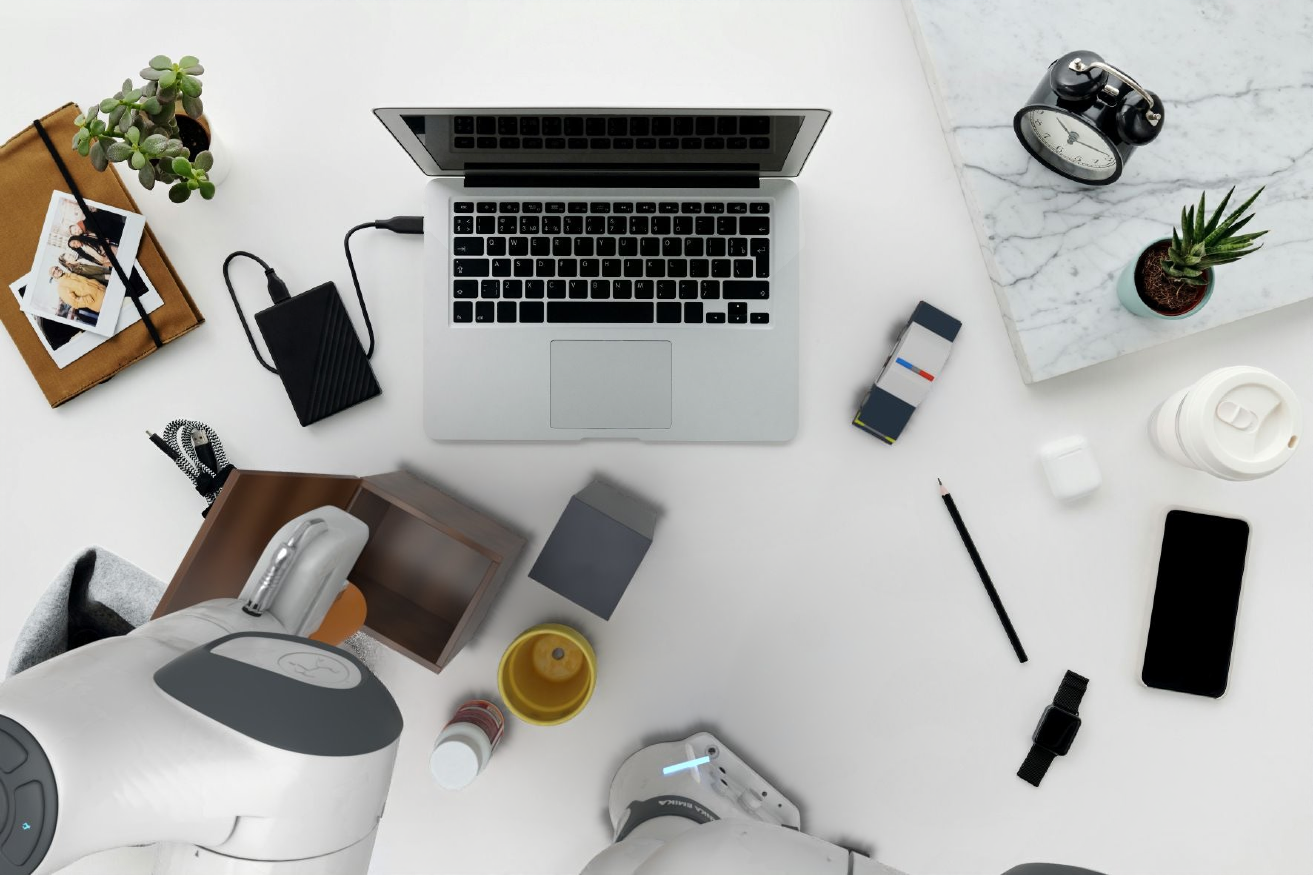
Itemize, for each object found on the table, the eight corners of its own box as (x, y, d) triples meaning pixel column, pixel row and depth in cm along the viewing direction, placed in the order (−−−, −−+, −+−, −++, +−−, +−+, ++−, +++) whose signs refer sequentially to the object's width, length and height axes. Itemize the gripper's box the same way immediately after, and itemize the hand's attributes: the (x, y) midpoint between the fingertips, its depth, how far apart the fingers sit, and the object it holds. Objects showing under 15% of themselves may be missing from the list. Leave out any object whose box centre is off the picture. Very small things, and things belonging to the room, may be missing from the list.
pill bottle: (453, 697, 92) (423, 735, 81) (505, 698, 92) (483, 736, 80) (453, 749, 92) (423, 794, 81) (505, 750, 92) (482, 795, 81)
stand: (656, 512, 91) (652, 541, 67) (623, 571, 91) (607, 621, 67) (597, 478, 91) (572, 495, 67) (563, 538, 92) (527, 576, 68)
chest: (527, 539, 92) (503, 557, 78) (471, 639, 92) (437, 675, 78) (404, 470, 92) (359, 476, 78) (348, 570, 92) (294, 594, 79)
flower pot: (528, 597, 92) (511, 617, 82) (612, 621, 92) (606, 644, 82) (504, 682, 92) (485, 712, 82) (589, 706, 92) (579, 739, 82)
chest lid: (240, 473, 61) (232, 468, 61) (156, 625, 61) (149, 620, 61) (361, 479, 78) (354, 475, 78) (295, 597, 78) (289, 593, 78)
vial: (377, 597, 64) (324, 628, 54) (348, 651, 64) (289, 691, 54) (324, 567, 64) (260, 593, 54) (295, 621, 64) (225, 656, 54)
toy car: (848, 424, 91) (859, 423, 86) (916, 303, 91) (930, 295, 86) (887, 445, 91) (899, 446, 86) (954, 324, 91) (971, 317, 86)
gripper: (250, 498, 46) (346, 483, 60) (84, 798, 46) (218, 714, 60) (342, 550, 46) (417, 523, 60) (176, 850, 46) (289, 754, 60)
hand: (316, 620), depth 60 cm, fingers closed on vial, 5 cm apart
